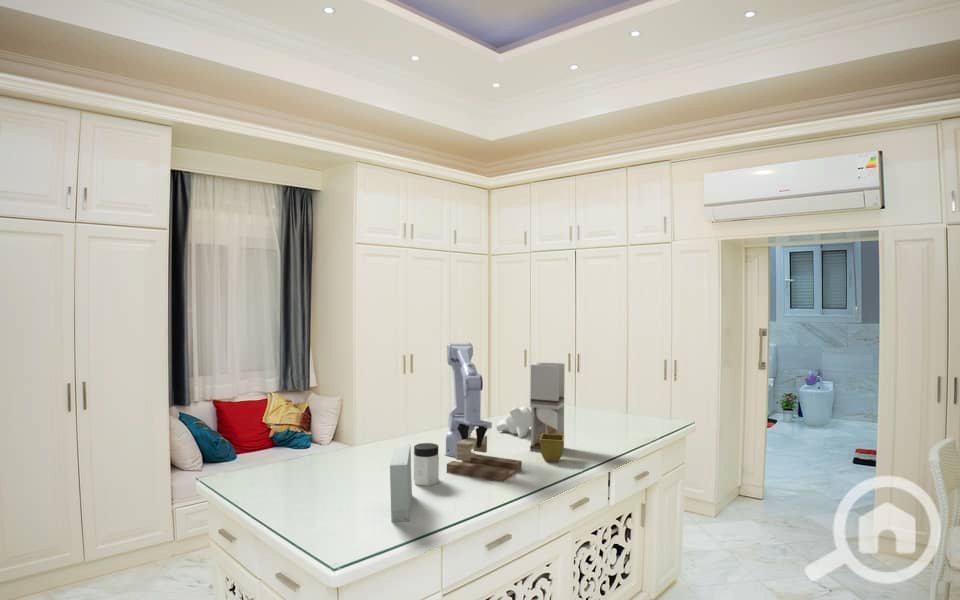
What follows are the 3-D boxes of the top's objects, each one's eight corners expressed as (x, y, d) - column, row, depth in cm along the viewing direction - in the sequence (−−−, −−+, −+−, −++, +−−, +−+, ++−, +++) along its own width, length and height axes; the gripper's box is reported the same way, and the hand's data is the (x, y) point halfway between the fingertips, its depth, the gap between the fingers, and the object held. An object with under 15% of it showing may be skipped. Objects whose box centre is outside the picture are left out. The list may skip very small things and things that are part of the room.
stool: (469, 461, 193) (469, 444, 193) (456, 459, 195) (456, 442, 195) (486, 451, 205) (487, 435, 205) (474, 450, 207) (475, 434, 207)
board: (446, 472, 195) (446, 463, 195) (467, 460, 210) (467, 452, 210) (503, 481, 186) (503, 473, 186) (521, 469, 200) (521, 460, 200)
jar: (408, 484, 183) (408, 447, 183) (418, 476, 190) (418, 441, 190) (433, 487, 180) (434, 450, 180) (442, 479, 188) (443, 444, 188)
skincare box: (394, 495, 172) (394, 444, 172) (412, 495, 173) (412, 444, 173) (389, 522, 151) (389, 464, 151) (409, 522, 152) (409, 463, 152)
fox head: (495, 412, 267) (488, 417, 247) (527, 400, 265) (523, 405, 245) (504, 438, 265) (498, 446, 245) (537, 427, 263) (534, 434, 243)
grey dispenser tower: (530, 451, 224) (530, 364, 224) (537, 444, 234) (538, 362, 234) (557, 454, 220) (558, 366, 220) (563, 447, 230) (564, 363, 230)
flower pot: (563, 464, 206) (563, 440, 206) (539, 462, 208) (539, 438, 208) (564, 457, 215) (564, 434, 215) (541, 456, 217) (541, 433, 217)
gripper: (449, 408, 200) (449, 446, 200) (485, 412, 193) (485, 451, 193) (459, 405, 206) (458, 441, 206) (494, 409, 199) (494, 446, 199)
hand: (472, 446), depth 200 cm, fingers closed on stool, 5 cm apart
